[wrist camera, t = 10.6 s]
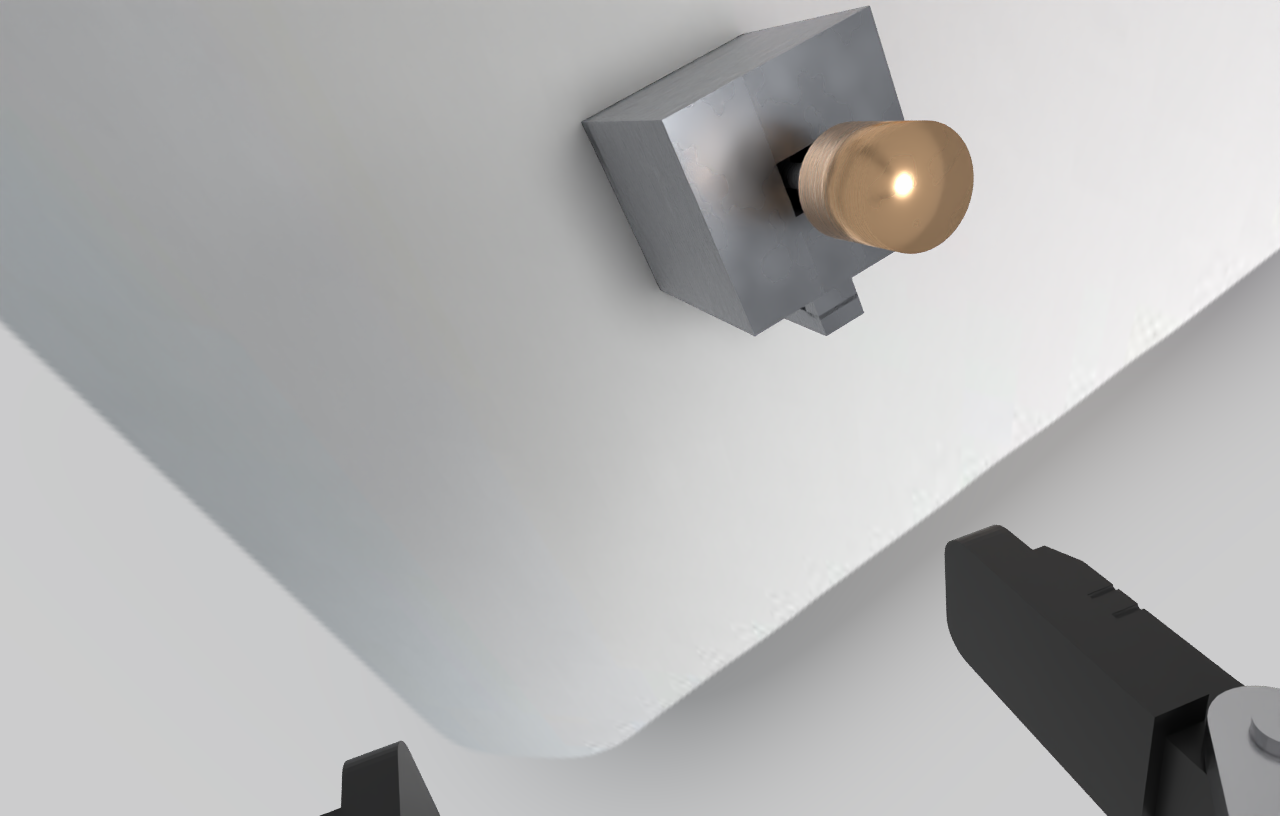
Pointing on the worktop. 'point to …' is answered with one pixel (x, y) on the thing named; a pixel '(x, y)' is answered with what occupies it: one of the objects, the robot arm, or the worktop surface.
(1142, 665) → the robot arm
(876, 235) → the plunger
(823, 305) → the frame
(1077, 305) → the worktop surface
